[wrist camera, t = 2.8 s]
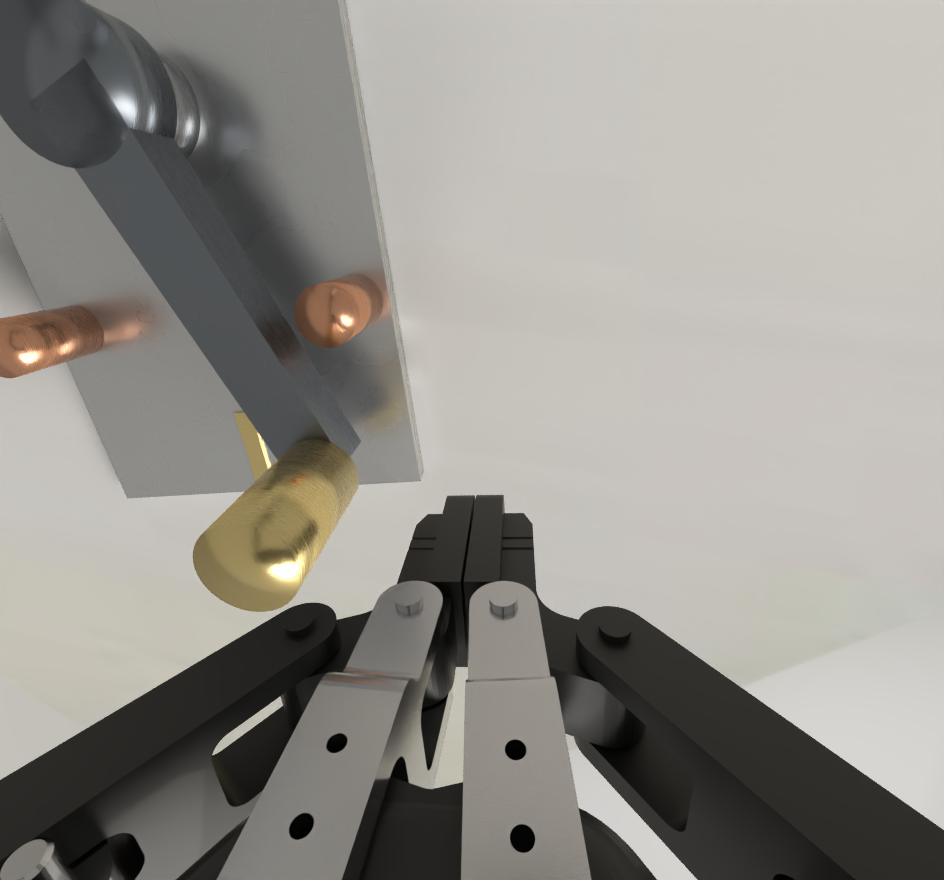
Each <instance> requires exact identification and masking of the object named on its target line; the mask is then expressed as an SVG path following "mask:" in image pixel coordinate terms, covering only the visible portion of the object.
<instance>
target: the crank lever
mask: <svg viewBox="0 0 944 880" xmlns="http://www.w3.org/2000/svg"><path fill="white" fill-rule="evenodd" d="M0 115H1V116H2V118H3V119H4V121H5V122H6V124H7V125H8V126H9V128H10V129H11V130H12V131H13V132H14V134H15V135H16V136H17V137H18V138H19V139H20V140H21V141H22V142H23V143H24V144H26V145H27V146H28V147H29V148H30V149H31V150H33V151H34V152H36V153H37V154H38V155H40V156H42V157H43V158H45V159H47V160H49V161H51V162H53V163H56V164H58V165H62V166H65V167H70V168H74V169H75V170H76V172H77V173H78V174H79V176H80V177H81V179H82V180H83V182H84V183H85V184H86V186H87V187H88V189H89V190H90V192H91V193H92V195H93V196H94V197H95V199H96V200H97V202H98V203H99V205H100V206H101V207H102V209H103V210H104V212H105V213H106V215H107V216H108V218H109V219H110V220H111V222H112V223H113V225H114V226H115V228H116V229H117V230H118V232H119V233H120V235H121V236H122V238H123V239H124V240H125V242H126V243H127V245H128V246H129V248H130V249H131V251H132V252H133V253H134V255H135V256H136V258H137V259H138V261H139V262H140V263H141V265H142V266H143V268H144V269H145V271H146V272H147V274H148V275H149V276H150V278H151V279H152V281H153V282H154V284H155V285H156V286H157V288H158V289H159V291H160V292H161V294H162V295H163V297H164V298H165V299H166V301H167V302H168V304H169V305H170V307H171V308H172V309H173V311H174V312H175V314H176V315H177V317H178V318H179V320H180V321H181V322H182V324H183V325H184V327H185V328H186V330H187V331H188V332H189V334H190V335H191V337H192V338H193V340H194V341H195V342H196V344H197V345H198V347H199V348H200V350H201V351H202V353H203V354H204V355H205V357H206V358H207V360H208V361H209V363H210V364H211V365H212V367H213V368H214V370H215V371H216V373H217V374H218V376H219V377H220V378H221V380H222V381H223V383H224V384H225V386H226V387H227V388H228V390H229V391H230V393H231V394H232V396H233V397H234V399H235V400H236V401H237V403H238V404H239V406H240V407H241V409H242V410H243V411H244V413H245V414H246V416H247V417H248V419H249V420H250V421H251V423H252V424H253V426H254V427H255V429H256V430H257V432H258V433H259V434H260V436H261V437H262V439H263V440H264V442H265V443H266V444H267V446H268V447H269V449H270V450H271V452H272V453H273V455H274V456H275V457H276V459H277V461H276V462H275V463H274V464H272V465H271V466H270V467H269V468H268V469H267V470H266V471H265V472H264V473H263V474H262V475H261V476H260V477H259V478H258V479H257V480H256V481H255V482H254V483H253V484H252V485H251V486H250V487H249V488H248V489H247V490H246V491H245V492H244V493H243V494H242V495H241V496H240V497H239V498H238V499H237V500H236V501H235V502H234V503H233V504H232V505H231V506H230V507H229V508H228V509H227V510H226V511H225V512H224V513H223V514H222V515H221V516H220V517H219V518H218V519H217V520H216V521H215V522H214V523H213V524H212V525H211V526H210V527H209V528H208V529H207V530H206V531H205V532H204V533H203V534H202V535H201V536H200V537H199V538H198V540H197V541H196V544H195V546H194V550H193V563H194V567H195V570H196V572H197V575H198V576H199V578H200V580H201V581H202V583H203V584H204V585H205V586H206V588H207V589H208V590H209V591H210V592H211V593H213V594H214V595H215V596H216V597H218V598H219V599H220V600H222V601H224V602H226V603H227V604H230V605H232V606H234V607H237V608H240V609H243V610H248V611H256V612H265V611H272V610H275V609H278V608H281V607H283V606H284V605H286V604H288V603H289V602H290V601H291V600H292V599H293V597H294V596H295V595H296V593H297V591H298V590H299V588H300V586H301V585H302V583H303V581H304V580H305V578H306V576H307V575H308V573H309V571H310V570H311V568H312V566H313V564H314V563H315V561H316V559H317V558H318V556H319V554H320V553H321V551H322V549H323V548H324V546H325V544H326V543H327V541H328V539H329V538H330V536H331V534H332V533H333V531H334V529H335V527H336V526H337V524H338V522H339V521H340V519H341V517H342V516H343V514H344V512H345V511H346V509H347V507H348V506H349V504H350V502H351V501H352V499H353V497H354V496H355V494H356V492H357V489H358V485H359V474H358V470H357V468H356V465H355V463H354V461H353V460H352V458H351V455H352V454H353V453H354V451H355V450H356V448H357V447H358V445H359V444H360V443H361V440H360V438H359V437H358V435H357V434H356V432H355V430H354V429H353V427H352V425H351V424H350V422H349V421H348V419H347V417H346V416H345V414H344V412H343V411H342V409H341V408H340V406H339V404H338V403H337V401H336V400H335V398H334V396H333V395H332V393H331V391H330V390H329V388H328V387H327V385H326V383H325V382H324V380H323V379H322V377H321V375H320V374H319V372H318V370H317V369H316V367H315V366H314V364H313V362H312V361H311V359H310V358H309V356H308V354H307V353H306V351H305V349H304V348H303V346H302V345H301V343H300V341H299V340H298V338H297V336H296V335H295V333H294V332H293V330H292V328H291V327H290V325H289V324H288V322H287V320H286V319H285V317H284V315H283V314H282V312H281V311H280V309H279V307H278V306H277V304H276V303H275V301H274V299H273V298H272V296H271V294H270V293H269V291H268V290H267V288H266V286H265V285H264V283H263V282H262V280H261V278H260V277H259V275H258V273H257V272H256V270H255V269H254V267H253V265H252V264H251V262H250V261H249V259H248V257H247V256H246V254H245V252H244V251H243V249H242V248H241V246H240V244H239V243H238V241H237V239H236V238H235V236H234V235H233V233H232V231H231V230H230V228H229V227H228V225H227V223H226V222H225V220H224V218H223V217H222V215H221V214H220V212H219V210H218V209H217V207H216V206H215V204H214V202H213V201H212V199H211V197H210V196H209V194H208V193H207V191H206V189H205V188H204V186H203V185H202V183H201V181H200V180H199V178H198V176H197V175H196V173H195V172H194V170H193V168H192V167H191V165H190V163H189V162H188V160H187V159H186V157H185V155H184V154H183V152H182V151H181V149H180V147H179V146H178V144H177V142H176V141H175V139H174V138H175V134H176V127H177V105H176V98H175V94H174V90H173V86H172V83H171V80H170V78H169V75H168V73H167V70H166V68H165V67H164V65H163V63H162V61H161V59H160V58H159V56H158V55H157V53H156V52H155V50H154V49H153V48H152V46H151V45H150V44H149V43H148V41H147V40H146V39H145V38H144V37H143V36H142V35H141V34H140V33H139V32H137V31H136V30H135V29H134V28H132V27H131V26H130V25H128V24H126V23H125V22H123V21H122V20H120V19H118V18H116V17H114V16H112V15H110V14H108V13H106V12H104V11H102V10H100V9H98V8H96V7H94V6H92V5H91V4H89V3H87V2H85V1H83V0H0Z"/></svg>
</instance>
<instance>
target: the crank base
mask: <svg viewBox="0 0 944 880" xmlns="http://www.w3.org/2000/svg"><path fill="white" fill-rule="evenodd" d="M83 1H85V2H87V3H89V4H91V5H92V6H94V7H96V8H98V9H100V10H102V11H104V12H106V13H108V14H110V15H112V16H114V17H116V18H118V19H120V20H122V21H123V22H125V23H126V24H128V25H130V26H131V27H132V28H134V29H135V30H136V31H137V32H139V33H140V34H141V35H142V36H143V37H144V38H145V39H146V40H147V41H148V43H149V44H150V45H151V46H152V48H153V49H154V50H155V52H156V53H157V55H158V56H159V58H160V59H161V61H162V63H163V65H164V67H165V68H166V70H167V73H168V75H169V78H170V80H171V83H172V86H173V90H174V94H175V98H176V105H177V127H176V134H175V138H174V139H175V141H176V142H177V144H178V146H179V147H180V149H181V151H182V152H183V154H184V155H185V157H186V159H187V160H188V162H189V163H190V165H191V167H192V168H193V170H194V172H195V173H196V175H197V176H198V178H199V180H200V181H201V183H202V185H203V186H204V188H205V189H206V191H207V193H208V194H209V196H210V197H211V199H212V201H213V202H214V204H215V206H216V207H217V209H218V210H219V212H220V214H221V215H222V217H223V218H224V220H225V222H226V223H227V225H228V227H229V228H230V230H231V231H232V233H233V235H234V236H235V238H236V239H237V241H238V243H239V244H240V246H241V248H242V249H243V251H244V252H245V254H246V256H247V257H248V259H249V261H250V262H251V264H252V265H253V267H254V269H255V270H256V272H257V273H258V275H259V277H260V278H261V280H262V282H263V283H264V285H265V286H266V288H267V290H268V291H269V293H270V294H271V296H272V298H273V299H274V301H275V303H276V304H277V306H278V307H279V309H280V311H281V312H282V314H283V315H284V317H285V319H286V320H287V322H288V324H289V325H290V327H291V328H292V330H293V332H294V333H295V335H296V336H297V338H298V340H299V341H300V343H301V345H302V346H303V348H304V349H305V351H306V353H307V354H308V356H309V358H310V359H311V361H312V362H313V364H314V366H315V367H316V369H317V370H318V372H319V374H320V375H321V377H322V379H323V380H324V382H325V383H326V385H327V387H328V388H329V390H330V391H331V393H332V395H333V396H334V398H335V400H336V401H337V403H338V404H339V406H340V408H341V409H342V411H343V412H344V414H345V416H346V417H347V419H348V421H349V422H350V424H351V425H352V427H353V429H354V430H355V432H356V434H357V435H358V437H359V438H360V440H361V443H360V444H359V445H358V447H357V448H356V450H355V451H354V453H353V454H352V455H351V458H352V460H353V461H354V463H355V465H356V468H357V470H358V474H359V485H362V484H379V483H396V482H413V481H421V478H422V475H423V473H424V470H423V464H422V458H421V452H420V446H419V440H418V434H417V428H416V422H415V416H414V410H413V404H412V398H411V392H410V386H409V380H408V374H407V369H406V363H405V357H404V351H403V345H402V339H401V333H400V327H399V321H398V315H397V309H396V303H395V297H394V291H393V285H392V279H391V273H390V267H389V261H388V255H387V249H386V243H385V237H384V231H383V225H382V219H381V213H380V207H379V201H378V195H377V189H376V183H375V177H374V171H373V165H372V159H371V153H370V147H369V141H368V135H367V129H366V123H365V117H364V111H363V105H362V99H361V93H360V87H359V81H358V75H357V69H356V63H355V57H354V51H353V45H352V39H351V33H350V27H349V21H348V15H347V9H346V3H345V0H83ZM0 213H1V215H2V218H3V220H4V222H5V224H6V227H7V229H8V231H9V233H10V236H11V238H12V240H13V242H14V245H15V247H16V249H17V251H18V254H19V256H20V258H21V260H22V263H23V265H24V267H25V269H26V272H27V274H28V276H29V278H30V281H31V283H32V285H33V287H34V290H35V292H36V294H37V296H38V299H39V301H40V303H41V305H42V308H43V310H44V311H39V312H33V313H28V314H22V315H17V316H12V317H6V318H1V319H0V376H1V377H4V378H15V377H18V376H22V375H25V374H28V373H31V372H35V371H38V370H41V369H44V368H48V367H51V366H54V365H57V364H61V363H64V362H67V364H68V366H69V368H70V371H71V373H72V375H73V377H74V380H75V382H76V384H77V386H78V389H79V391H80V393H81V395H82V398H83V400H84V402H85V404H86V407H87V409H88V411H89V413H90V416H91V418H92V420H93V422H94V425H95V427H96V429H97V431H98V434H99V436H100V438H101V440H102V443H103V445H104V447H105V449H106V452H107V454H108V456H109V458H110V461H111V463H112V465H113V467H114V470H115V472H116V474H117V476H118V479H119V481H120V483H121V485H122V488H123V490H124V492H125V494H126V497H127V498H142V497H158V496H175V495H192V494H209V493H226V492H243V491H246V490H247V489H248V488H249V487H250V486H251V485H252V484H253V483H254V482H255V481H256V480H257V479H258V478H259V477H260V476H261V475H262V474H263V473H264V472H265V471H266V470H267V469H268V468H269V467H270V466H271V465H272V464H274V463H275V462H276V461H277V459H276V457H275V456H274V455H273V453H272V452H271V450H270V449H269V447H268V446H267V444H266V443H265V442H264V440H263V439H262V437H261V436H260V434H259V433H258V432H257V430H256V429H255V427H254V426H253V424H252V423H251V421H250V420H249V419H248V417H247V416H246V414H245V413H244V411H243V410H242V409H241V407H240V406H239V404H238V403H237V401H236V400H235V399H234V397H233V396H232V394H231V393H230V391H229V390H228V388H227V387H226V386H225V384H224V383H223V381H222V380H221V378H220V377H219V376H218V374H217V373H216V371H215V370H214V368H213V367H212V365H211V364H210V363H209V361H208V360H207V358H206V357H205V355H204V354H203V353H202V351H201V350H200V348H199V347H198V345H197V344H196V342H195V341H194V340H193V338H192V337H191V335H190V334H189V332H188V331H187V330H186V328H185V327H184V325H183V324H182V322H181V321H180V320H179V318H178V317H177V315H176V314H175V312H174V311H173V309H172V308H171V307H170V305H169V304H168V302H167V301H166V299H165V298H164V297H163V295H162V294H161V292H160V291H159V289H158V288H157V286H156V285H155V284H154V282H153V281H152V279H151V278H150V276H149V275H148V274H147V272H146V271H145V269H144V268H143V266H142V265H141V263H140V262H139V261H138V259H137V258H136V256H135V255H134V253H133V252H132V251H131V249H130V248H129V246H128V245H127V243H126V242H125V240H124V239H123V238H122V236H121V235H120V233H119V232H118V230H117V229H116V228H115V226H114V225H113V223H112V222H111V220H110V219H109V218H108V216H107V215H106V213H105V212H104V210H103V209H102V207H101V206H100V205H99V203H98V202H97V200H96V199H95V197H94V196H93V195H92V193H91V192H90V190H89V189H88V187H87V186H86V184H85V183H84V182H83V180H82V179H81V177H80V176H79V174H78V173H77V172H76V170H75V169H74V168H70V167H65V166H62V165H58V164H56V163H53V162H51V161H49V160H47V159H45V158H43V157H42V156H40V155H38V154H37V153H36V152H34V151H33V150H31V149H30V148H29V147H28V146H27V145H26V144H24V143H23V142H22V141H21V140H20V139H19V138H18V137H17V136H16V135H15V134H14V132H13V131H12V130H11V129H10V128H9V126H8V125H7V124H6V122H5V121H4V119H3V118H2V116H1V115H0Z"/></svg>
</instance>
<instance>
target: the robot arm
mask: <svg viewBox="0 0 944 880" xmlns="http://www.w3.org/2000/svg"><path fill="white" fill-rule="evenodd" d="M468 660H469V662H468ZM456 667H468V680H466V685H465V721H464V766H463V782H462V783H458V784H453V785H449V786H445V787H440V788H435V789H434V784H435V779H436V774H437V769H438V765H439V760H440V756H441V751H442V747H443V742H444V737H445V733H446V728H447V724H448V719H449V715H450V710H451V705H452V701H453V691H452V686H453V682H454V676H455V669H456ZM280 696H281V699H282V703H283V706H282V707H281V708H279V709H278V710H277V711H275V712H274V713H273V714H271V715H270V716H269V717H267V718H266V719H264V720H263V721H262V722H260V723H259V724H258V725H256V726H255V727H253V728H252V729H251V730H249V731H248V732H247V733H245V734H244V735H243V736H241V737H240V738H238V739H237V740H236V741H234V742H233V743H232V744H230V745H229V746H228V747H226V748H225V749H223V750H222V751H221V752H219V753H217V754H215V755H213V756H212V754H213V751H214V749H215V747H216V746H217V744H218V743H219V742H220V740H221V739H222V738H223V737H224V736H226V735H227V734H228V733H229V732H231V731H232V730H234V729H235V728H236V727H238V726H239V725H241V724H242V723H243V722H245V721H246V720H248V719H249V718H250V717H252V716H253V715H255V714H256V713H257V712H259V711H260V710H262V709H263V708H264V707H266V706H267V705H269V704H270V703H271V702H273V701H274V700H276V699H277V698H278V697H280ZM565 733H566V734H569V735H571V736H574V739H575V742H576V744H577V746H578V748H579V750H580V751H581V752H582V754H583V755H584V756H585V757H586V758H587V759H588V760H589V761H590V763H591V764H592V765H593V766H594V767H595V768H596V769H597V770H598V771H599V772H600V773H601V774H602V776H604V778H605V779H606V780H607V781H608V782H609V783H610V784H611V785H612V787H613V788H614V789H615V790H616V791H617V792H618V793H619V794H620V795H621V796H622V798H624V800H625V801H626V802H627V803H628V804H629V805H630V806H631V807H632V808H633V809H634V811H635V812H636V813H637V814H638V815H639V816H640V817H641V818H642V819H643V820H644V822H646V824H647V825H648V826H649V827H650V828H651V829H652V830H653V831H654V832H655V834H656V835H657V836H658V837H659V838H660V839H661V840H662V841H663V842H664V843H665V844H666V846H667V847H668V848H669V849H670V850H671V851H672V852H673V853H674V854H675V855H676V857H678V859H679V860H680V861H681V862H682V863H683V864H684V865H685V866H686V867H687V868H688V870H689V871H690V872H691V873H692V874H693V875H694V876H695V877H696V878H697V879H698V880H944V830H943V829H941V828H940V827H938V826H937V825H936V824H934V823H933V822H931V821H930V820H929V819H927V818H925V817H924V816H923V815H921V814H920V813H918V812H917V811H916V810H914V809H913V808H912V807H910V806H909V805H907V804H906V803H904V802H903V801H901V800H900V799H899V798H897V797H896V796H894V795H893V794H892V793H890V792H889V791H887V790H886V789H884V788H883V787H881V786H880V785H879V784H877V783H876V782H875V781H873V780H872V779H870V778H869V777H867V776H866V775H864V774H863V773H862V772H860V771H859V770H857V769H856V768H855V767H853V766H852V765H850V764H849V763H847V762H846V761H845V760H843V759H842V758H840V757H839V756H838V755H836V754H834V753H833V752H832V751H830V750H829V749H828V748H826V747H825V746H823V745H822V744H820V743H819V742H817V741H816V740H815V739H813V738H812V737H811V736H809V735H808V734H806V733H805V732H803V731H802V730H801V729H799V728H798V727H796V726H795V725H793V724H792V723H791V722H789V721H788V720H786V719H785V718H784V717H782V716H781V715H779V714H778V713H776V712H775V711H774V710H772V709H771V708H769V707H768V706H766V705H765V704H764V703H762V702H761V701H759V700H758V699H757V698H755V697H754V696H752V695H751V694H749V693H748V692H747V691H745V690H744V689H742V688H741V687H739V686H738V685H737V684H735V683H734V682H732V681H731V680H730V679H728V678H727V677H725V676H724V675H722V674H721V673H720V672H718V671H717V670H715V669H714V668H712V667H711V666H710V665H708V664H707V663H705V662H704V661H703V660H701V659H700V658H698V657H697V656H695V655H694V654H693V653H691V652H690V651H688V650H687V649H685V648H684V647H683V646H681V645H680V644H678V643H677V642H676V641H674V640H673V639H671V638H670V637H668V636H667V635H666V634H664V633H663V632H661V631H660V630H658V629H657V628H656V627H654V626H653V625H651V624H650V623H648V622H647V621H646V620H644V619H643V618H641V617H640V616H638V615H637V614H635V613H633V612H631V611H629V610H626V609H623V608H619V607H612V606H603V607H597V608H594V609H591V610H589V611H587V612H586V613H584V614H583V615H582V616H581V617H580V619H579V620H577V619H573V618H569V617H566V616H563V615H560V614H558V613H555V612H553V611H552V610H550V609H549V608H547V607H546V606H545V605H544V604H543V603H542V602H541V600H540V599H539V597H538V595H537V592H536V580H535V562H534V545H533V528H532V523H531V522H530V521H529V519H528V518H527V517H526V516H525V514H524V513H505V512H504V495H477V496H476V500H475V496H474V495H469V496H447V499H446V503H445V506H444V510H443V514H428V515H427V516H426V517H425V518H424V519H422V520H421V521H420V522H419V523H418V524H417V525H416V528H415V531H414V534H413V537H412V540H411V543H410V546H409V550H408V552H407V555H406V558H405V561H404V564H403V567H402V570H401V573H400V576H399V579H398V582H397V584H396V585H394V586H392V587H390V588H389V589H387V590H386V591H385V592H384V593H383V594H382V595H381V596H380V597H379V599H378V600H377V602H376V605H375V607H374V609H373V610H372V611H369V612H367V613H364V614H360V615H356V616H352V617H347V618H343V619H339V620H337V619H336V614H335V612H334V611H333V610H332V608H330V607H329V606H327V605H324V604H321V603H305V604H300V605H297V606H294V607H291V608H289V609H287V610H285V611H283V612H282V613H280V614H278V615H277V616H275V617H273V618H272V619H270V620H268V621H267V622H265V623H263V624H261V625H260V626H258V627H256V628H255V629H253V630H251V631H250V632H248V633H246V634H245V635H243V636H241V637H240V638H238V639H236V640H235V641H233V642H231V643H230V644H228V645H226V646H225V647H223V648H221V649H219V650H218V651H216V652H214V653H213V654H211V655H209V656H208V657H206V658H204V659H203V660H201V661H199V662H198V663H196V664H194V665H193V666H191V667H189V668H188V669H186V670H184V671H183V672H181V673H179V674H178V675H176V676H174V677H172V678H171V679H169V680H167V681H166V682H164V683H162V684H161V685H159V686H157V687H156V688H154V689H152V690H151V691H149V692H147V693H146V694H144V695H142V696H141V697H139V698H137V699H136V700H134V701H132V702H131V703H129V704H127V705H125V706H124V707H122V708H120V709H119V710H117V711H115V712H114V713H112V714H110V715H109V716H107V717H105V718H104V719H102V720H100V721H99V722H97V723H95V724H94V725H92V726H90V727H89V728H87V729H85V730H84V731H82V732H80V733H78V734H77V735H75V736H74V737H72V738H70V739H68V740H67V741H65V742H63V743H62V744H60V745H58V746H57V747H55V748H53V749H52V750H50V751H48V752H47V753H45V754H43V755H42V756H40V757H38V758H37V759H35V760H33V761H31V762H30V763H28V764H26V765H25V766H23V767H21V768H20V769H18V770H17V771H15V772H13V773H11V774H10V775H8V776H6V777H5V778H3V779H1V780H0V880H657V879H656V878H655V877H654V876H653V874H652V873H651V872H650V871H649V869H648V868H647V867H646V866H645V865H644V863H643V862H642V861H641V859H640V858H639V857H638V856H637V855H636V853H635V852H634V851H633V850H632V849H631V848H630V847H629V845H628V844H626V842H624V841H623V840H622V839H621V838H620V837H619V836H618V835H617V834H616V833H615V832H614V831H613V830H612V829H610V828H609V827H608V826H607V825H605V824H604V823H602V821H600V820H598V819H597V818H595V817H594V816H592V815H591V814H589V813H587V812H586V811H583V810H581V809H580V808H579V807H578V802H577V796H576V791H575V785H574V780H573V774H572V769H571V763H570V757H569V752H568V746H567V741H566V735H565Z"/></svg>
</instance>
